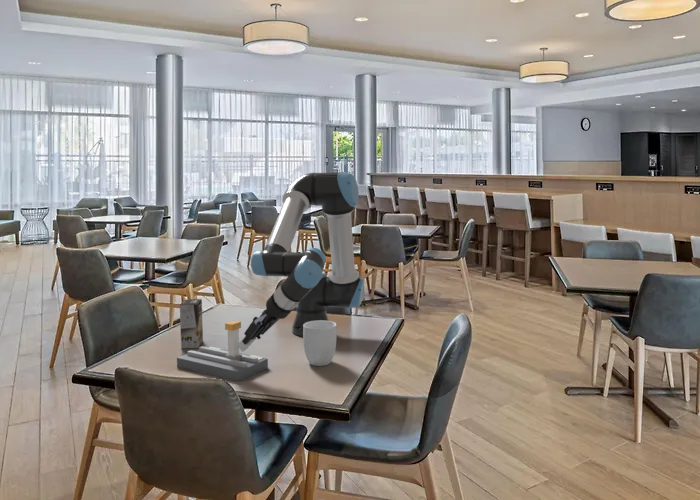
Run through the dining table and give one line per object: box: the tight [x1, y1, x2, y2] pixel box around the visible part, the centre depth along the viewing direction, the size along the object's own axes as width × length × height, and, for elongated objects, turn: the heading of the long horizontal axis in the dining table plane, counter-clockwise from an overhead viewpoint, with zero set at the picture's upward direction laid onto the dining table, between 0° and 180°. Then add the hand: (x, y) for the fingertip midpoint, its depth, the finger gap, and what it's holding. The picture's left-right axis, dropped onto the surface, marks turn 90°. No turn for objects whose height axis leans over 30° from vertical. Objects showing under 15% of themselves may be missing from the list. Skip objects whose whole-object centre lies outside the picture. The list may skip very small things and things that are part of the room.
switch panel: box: [176, 345, 269, 382], centre depth 182 cm, size 26×14×4 cm, turn 60°
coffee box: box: [179, 298, 204, 349], centre depth 205 cm, size 9×6×16 cm
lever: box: [224, 320, 243, 361], centre depth 178 cm, size 4×4×12 cm
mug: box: [302, 320, 338, 367], centre depth 187 cm, size 15×11×13 cm
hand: (241, 347), depth 177 cm, fingers closed
